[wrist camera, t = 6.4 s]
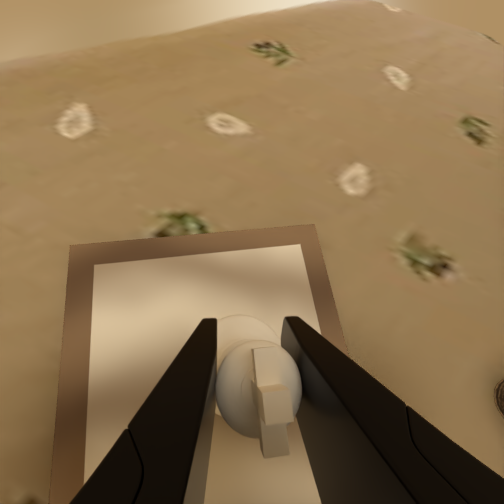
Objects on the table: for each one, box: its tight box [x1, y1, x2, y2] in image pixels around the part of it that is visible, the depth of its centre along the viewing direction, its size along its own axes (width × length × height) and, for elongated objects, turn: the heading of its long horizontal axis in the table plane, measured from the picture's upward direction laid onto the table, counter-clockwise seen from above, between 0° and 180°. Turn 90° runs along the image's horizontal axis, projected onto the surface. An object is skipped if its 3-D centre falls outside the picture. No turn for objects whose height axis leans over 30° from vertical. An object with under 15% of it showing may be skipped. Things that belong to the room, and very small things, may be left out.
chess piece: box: [215, 315, 302, 459], centre depth 8 cm, size 5×5×10 cm
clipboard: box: [49, 224, 349, 504], centre depth 14 cm, size 20×16×1 cm
